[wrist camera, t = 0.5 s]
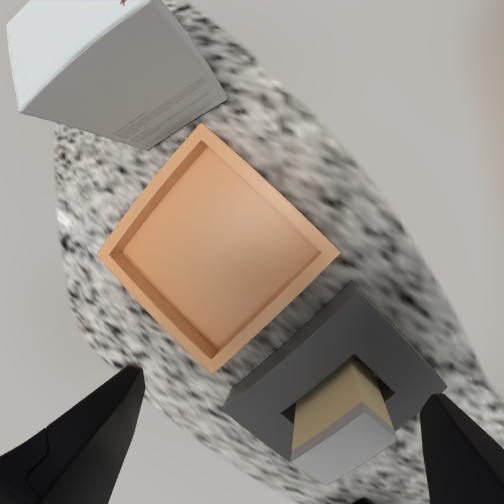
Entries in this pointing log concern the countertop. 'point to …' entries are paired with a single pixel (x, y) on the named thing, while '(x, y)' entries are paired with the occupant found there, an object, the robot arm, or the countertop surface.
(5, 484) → the robot arm
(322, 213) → the countertop surface
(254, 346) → the countertop surface
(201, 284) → the parts tray
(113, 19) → the supplement box
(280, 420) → the gray rectangular frame
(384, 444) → the block
